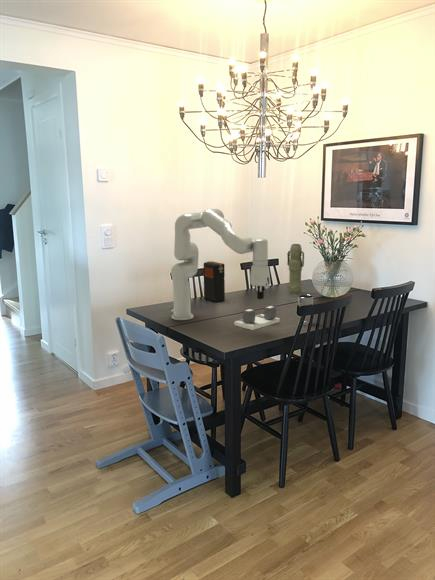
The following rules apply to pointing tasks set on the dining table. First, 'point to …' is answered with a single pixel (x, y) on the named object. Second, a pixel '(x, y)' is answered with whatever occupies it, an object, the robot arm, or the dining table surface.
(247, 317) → the grey rounded block
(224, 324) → the dining table surface
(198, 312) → the dining table surface
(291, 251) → the olive green tall statue
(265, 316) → the handle
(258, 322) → the white rectangular tray
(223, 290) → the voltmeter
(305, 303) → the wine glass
